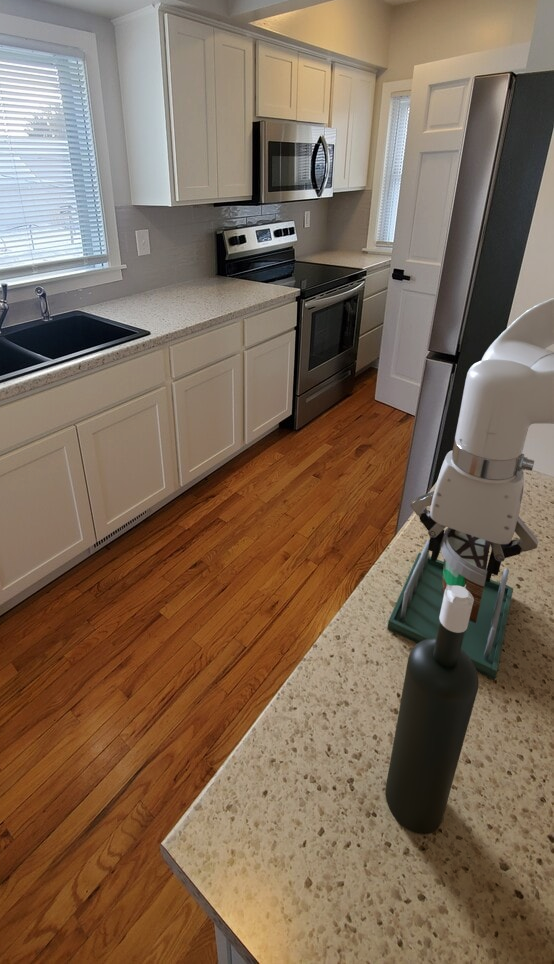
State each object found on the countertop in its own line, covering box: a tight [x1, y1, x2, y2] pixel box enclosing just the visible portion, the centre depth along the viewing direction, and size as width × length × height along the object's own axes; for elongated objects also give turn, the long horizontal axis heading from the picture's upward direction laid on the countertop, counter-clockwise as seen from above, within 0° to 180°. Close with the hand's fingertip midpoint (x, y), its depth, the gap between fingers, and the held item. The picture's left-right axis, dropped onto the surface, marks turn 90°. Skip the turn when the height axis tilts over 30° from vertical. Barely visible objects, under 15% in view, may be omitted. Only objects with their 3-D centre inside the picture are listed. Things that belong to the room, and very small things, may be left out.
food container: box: [440, 527, 491, 623], centre depth 68 cm, size 12×6×10 cm, turn 149°
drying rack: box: [386, 539, 514, 681], centre depth 71 cm, size 14×16×7 cm
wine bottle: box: [384, 584, 480, 835], centre depth 45 cm, size 6×6×30 cm
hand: (461, 563), depth 68 cm, fingers closed on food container, 6 cm apart
